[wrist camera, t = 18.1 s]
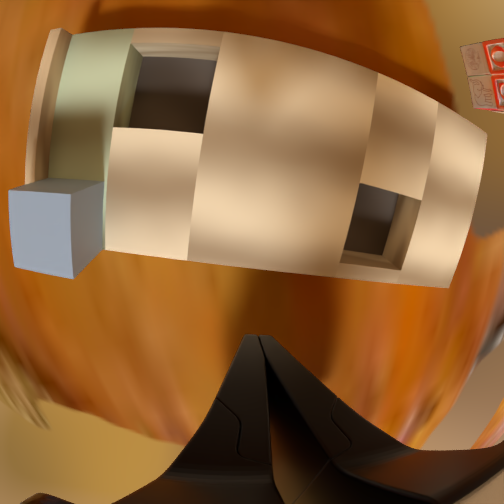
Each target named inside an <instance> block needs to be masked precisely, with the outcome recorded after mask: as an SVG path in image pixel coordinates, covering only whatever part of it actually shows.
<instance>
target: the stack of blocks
mask: <svg viewBox="0 0 504 504" xmlns="http://www.w3.org/2000/svg"><path fill="white" fill-rule="evenodd" d="M460 49H461V53H462V57H463V61H464V65H465V69H466V73H467V76H468V78H467V79H468V83H469V88H470V93H471V99H472V104H473V108H475V109H485V110H491V111H493V112H500V113H504V38H501V39H494V40H489V41H484V42H480V43H475V44H470V45H465V46H461V47H460Z"/></svg>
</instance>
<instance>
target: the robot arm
mask: <svg viewBox="0 0 504 504" xmlns="http://www.w3.org/2000/svg"><path fill="white" fill-rule="evenodd" d="M20 504H74V503H71V502H68V501H66V500H63V499H60V498H57V497H55V496H52V495H49V494H44V493H36V494H34V495H33V496H31V497H29V498H27V499H26V500H25V501H23V502H21V503H20ZM112 504H504V441H502V442H501V443H499V444H498V445H495V446H492V447H488V448H482V449H471V450H449V451H448V450H447V451H428V450H427V451H426V450H418V449H414V448H411V447H408V446H406V445H404V444H402V443H401V442H399V441H397V440H396V439H394V438H393V437H391V436H390V435H388V434H387V433H385V432H384V431H382V430H381V429H379V428H378V427H376V426H375V425H373V424H372V423H370V422H369V421H367V420H366V419H365V418H363V417H362V416H360V415H359V414H358V413H357V412H355V411H354V410H353V409H352V408H350V407H349V406H348V405H347V404H346V403H344V402H343V401H342V400H341V399H340V398H337V396H336V395H335V394H334V393H333V392H332V391H331V390H330V389H328V388H327V387H326V386H325V385H324V384H323V383H322V382H321V381H319V380H318V379H317V378H316V377H315V376H314V375H313V374H312V373H311V372H310V371H308V370H307V369H306V368H305V367H304V366H303V365H302V364H301V363H300V362H299V361H298V360H296V359H295V358H294V357H293V356H292V355H291V354H290V353H289V352H288V351H287V350H286V349H285V348H284V347H283V346H282V345H280V344H279V343H278V342H277V341H276V340H275V339H274V338H273V337H272V336H270V335H259V336H257V335H253V334H245V335H244V337H243V339H242V341H241V343H240V345H239V348H238V350H237V352H236V354H235V356H234V359H233V361H232V363H231V365H230V367H229V370H228V372H227V374H226V376H225V378H224V381H223V383H222V385H221V387H220V389H219V391H218V393H217V396H216V398H215V400H214V402H213V404H212V406H211V408H210V410H209V412H208V414H207V415H206V417H205V419H204V421H203V422H202V424H201V425H200V427H199V428H198V430H197V431H196V433H195V434H194V436H193V437H192V438H191V440H190V441H189V442H188V444H187V445H186V446H185V448H184V449H183V450H182V452H181V453H180V454H179V455H178V457H177V458H176V459H175V461H174V462H173V463H172V464H171V465H170V467H169V468H168V469H167V470H166V471H165V472H164V473H163V474H162V475H161V476H160V477H158V478H157V479H156V480H154V481H152V482H151V483H149V484H147V485H146V486H144V487H142V488H140V489H138V490H137V491H135V492H133V493H131V494H129V495H128V496H126V497H124V498H122V499H120V500H118V501H116V502H114V503H112Z"/></svg>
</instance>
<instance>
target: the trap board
mask: <svg viewBox="0 0 504 504" xmlns="http://www.w3.org/2000/svg"><path fill="white" fill-rule="evenodd" d="M486 141H487V133H485V132H484V131H483V130H481V129H480V128H478V127H477V126H475V125H474V124H472V123H471V122H470V121H468V120H466V119H465V118H463V117H462V116H460V115H459V114H457V113H456V112H454V111H452V110H451V109H449V108H447V107H446V106H444V105H442V104H440V103H439V102H437V101H435V100H433V99H432V98H430V97H428V96H426V95H424V94H422V93H420V92H419V91H417V90H415V89H413V88H411V87H409V86H407V85H405V84H402V83H400V82H398V81H396V80H394V79H392V78H389V77H387V76H385V75H383V74H380V73H378V72H375V71H373V70H371V69H368V68H366V67H363V66H360V65H358V64H355V63H352V62H350V61H347V60H344V59H341V58H338V57H335V56H332V55H329V54H326V53H322V52H319V51H316V50H312V49H309V48H305V47H301V46H297V45H293V44H289V43H285V42H281V41H276V40H271V39H266V38H261V37H256V36H250V35H244V34H237V33H230V32H222V31H213V30H202V29H186V28H130V29H115V30H105V31H96V32H88V33H81V34H75V35H72V34H70V33H69V32H67V31H66V30H64V29H63V28H58V29H54V30H51V31H50V34H49V37H48V40H47V43H46V46H45V50H44V53H43V57H42V61H41V64H40V68H39V73H38V77H37V81H36V86H35V91H34V96H33V102H32V108H31V114H30V121H29V129H28V138H27V149H26V165H25V185H26V184H29V183H32V182H36V181H39V180H43V179H46V178H62V179H78V180H93V181H105V182H104V198H103V227H102V249H104V250H111V251H118V252H126V253H133V254H141V255H148V256H156V257H163V258H171V259H179V260H187V261H195V262H203V263H211V264H219V265H228V266H236V267H245V268H253V269H262V270H271V271H280V272H289V273H298V274H307V275H316V276H326V277H335V278H345V279H355V280H365V281H375V282H386V283H396V284H407V285H418V286H429V287H441V288H449V285H450V283H451V280H452V278H453V275H454V272H455V270H456V267H457V264H458V261H459V258H460V255H461V252H462V249H463V246H464V243H465V240H466V237H467V233H468V230H469V226H470V223H471V219H472V215H473V211H474V207H475V203H476V199H477V194H478V190H479V184H480V180H481V174H482V168H483V163H484V156H485V149H486Z"/></svg>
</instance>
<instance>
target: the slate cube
mask: <svg viewBox="0 0 504 504" xmlns="http://www.w3.org/2000/svg"><path fill="white" fill-rule="evenodd" d="M104 182H105V181H93V180H78V179H62V178H46V179H43V180H39V181H36V182H32V183H29V184H26V185H23V186H20V187H16V188H13V189H10V190H9V220H10V233H11V243H12V252H13V260H14V267H18V268H22V269H27V270H31V271H36V272H40V273H45V274H50V275H55V276H60V277H65V278H70V279H74V278H75V277H76V276H77V275H78V274H79V273H80V272H81V271H82V270H83V269H84V268H85V267H86V266H87V265H88V264H89V262H90V261H91V260H92V259H93V258H94V257H95V256H96V255H97V254H98V253H99V252H100V251H101V250H102V227H103V198H104Z"/></svg>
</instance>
